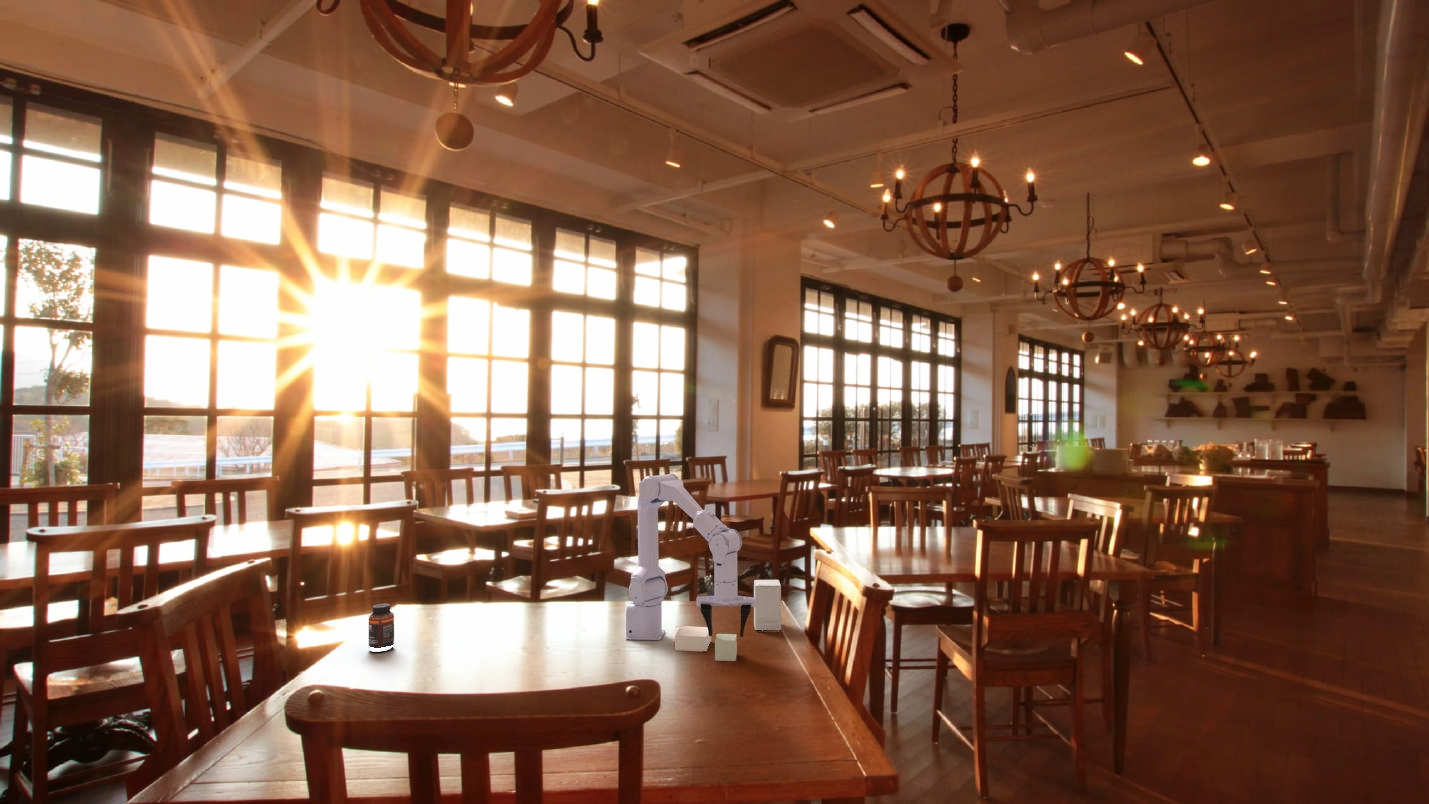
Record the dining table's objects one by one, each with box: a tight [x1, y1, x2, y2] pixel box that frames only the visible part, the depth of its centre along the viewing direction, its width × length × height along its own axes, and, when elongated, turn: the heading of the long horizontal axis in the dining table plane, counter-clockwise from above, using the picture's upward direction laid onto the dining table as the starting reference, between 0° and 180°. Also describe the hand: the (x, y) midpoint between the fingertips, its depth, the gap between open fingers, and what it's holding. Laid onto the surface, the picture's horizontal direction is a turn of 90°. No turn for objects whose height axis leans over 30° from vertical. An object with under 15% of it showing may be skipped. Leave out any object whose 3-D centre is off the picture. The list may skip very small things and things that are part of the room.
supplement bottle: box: [368, 603, 395, 648], centre depth 182 cm, size 6×6×11 cm
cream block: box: [674, 625, 712, 652], centre depth 185 cm, size 8×8×4 cm
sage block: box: [714, 633, 738, 662], centre depth 176 cm, size 5×5×5 cm
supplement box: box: [753, 579, 782, 632], centre depth 200 cm, size 7×7×13 cm
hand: (726, 635), depth 176 cm, fingers open, 7 cm apart
